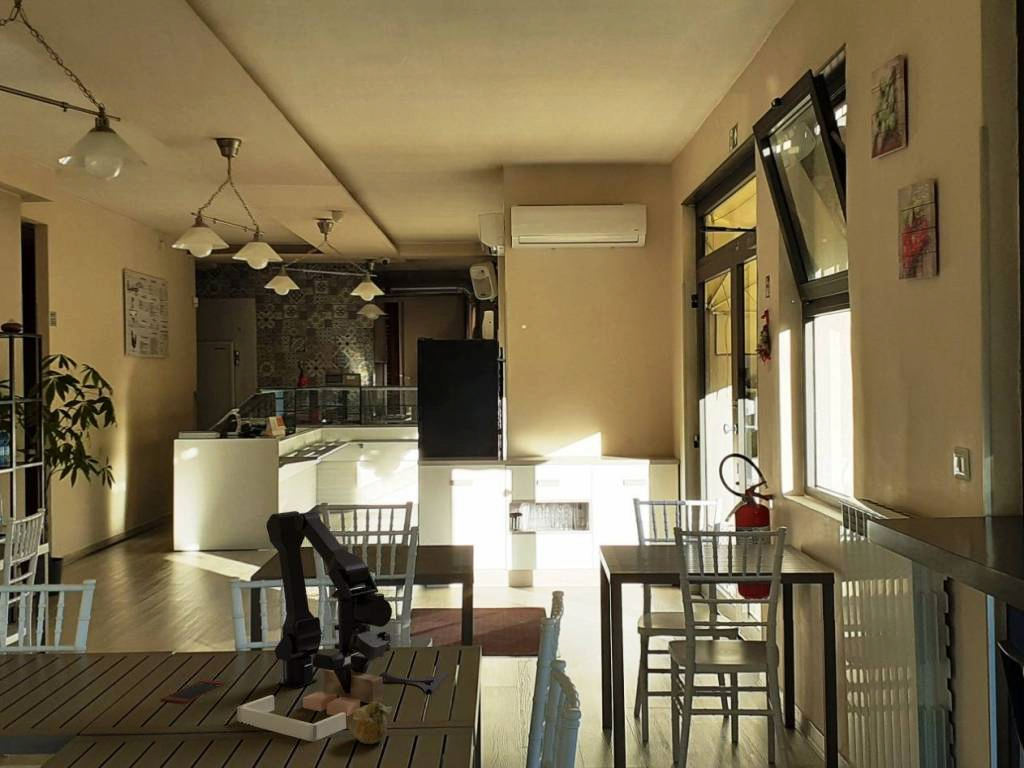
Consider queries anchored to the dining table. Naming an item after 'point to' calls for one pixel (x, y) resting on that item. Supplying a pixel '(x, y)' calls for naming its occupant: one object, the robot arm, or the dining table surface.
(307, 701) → the tile
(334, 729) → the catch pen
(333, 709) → the tile
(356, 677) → the bar
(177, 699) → the smartphone
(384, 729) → the onion
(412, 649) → the dining table surface
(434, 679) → the bracket
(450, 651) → the dining table surface
